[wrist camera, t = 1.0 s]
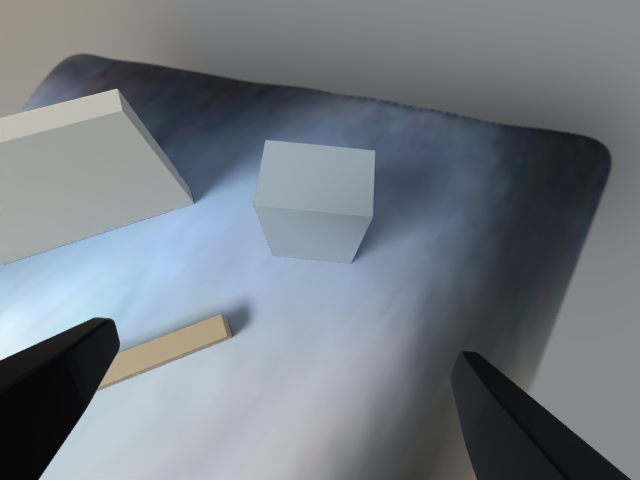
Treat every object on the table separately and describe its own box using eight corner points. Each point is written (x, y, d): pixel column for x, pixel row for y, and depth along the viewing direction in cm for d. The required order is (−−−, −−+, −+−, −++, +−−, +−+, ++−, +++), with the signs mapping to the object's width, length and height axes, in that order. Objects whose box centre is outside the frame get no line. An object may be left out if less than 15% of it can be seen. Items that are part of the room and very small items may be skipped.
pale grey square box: (350, 263, 23) (372, 217, 15) (272, 256, 23) (253, 205, 15) (354, 207, 25) (375, 138, 17) (281, 200, 25) (267, 128, 17)
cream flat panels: (232, 337, 21) (170, 324, 12) (11, 424, 19) (-286, 497, 9) (189, 188, 25) (117, 88, 15) (2, 246, 23) (-214, 171, 13)
